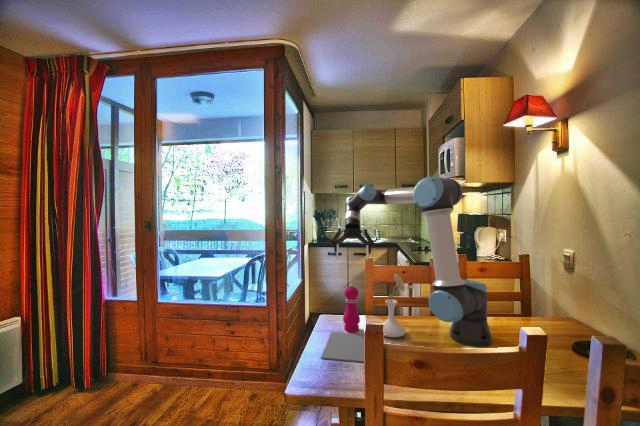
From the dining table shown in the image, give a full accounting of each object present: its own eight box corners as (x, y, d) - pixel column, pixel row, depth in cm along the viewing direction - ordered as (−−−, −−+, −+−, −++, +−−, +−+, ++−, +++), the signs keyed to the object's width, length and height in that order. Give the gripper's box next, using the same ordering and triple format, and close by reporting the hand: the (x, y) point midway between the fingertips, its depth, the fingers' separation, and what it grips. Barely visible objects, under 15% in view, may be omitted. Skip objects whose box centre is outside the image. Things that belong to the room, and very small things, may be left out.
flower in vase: (394, 343, 117) (394, 278, 117) (371, 333, 126) (371, 273, 126) (413, 334, 126) (413, 273, 125) (391, 326, 134) (391, 269, 134)
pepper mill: (340, 327, 133) (340, 282, 133) (355, 325, 135) (355, 280, 135) (347, 334, 126) (347, 286, 126) (363, 331, 129) (362, 284, 128)
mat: (331, 333, 127) (331, 332, 127) (369, 336, 124) (369, 335, 124) (321, 358, 105) (321, 357, 105) (367, 363, 102) (367, 361, 102)
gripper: (377, 227, 152) (379, 264, 138) (327, 226, 154) (324, 261, 140) (378, 218, 147) (381, 254, 133) (327, 216, 148) (324, 252, 134)
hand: (352, 258), depth 136 cm, fingers open, 13 cm apart
